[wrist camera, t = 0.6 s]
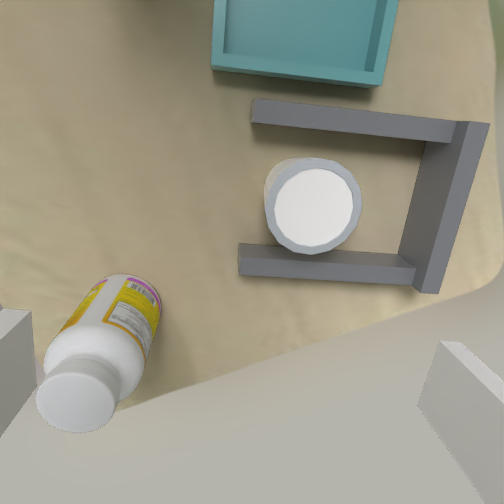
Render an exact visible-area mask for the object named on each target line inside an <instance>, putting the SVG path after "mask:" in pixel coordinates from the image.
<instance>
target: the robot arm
mask: <svg viewBox="0 0 504 504" xmlns="http://www.w3.org/2000/svg"><path fill="white" fill-rule="evenodd" d="M36 387H37V382H36V369H35V356H34V343H33V330H32V317H31V311H29V310H16V309H3V310H1V311H0V437H1V435H2V434H3V433H4V431H5V430H6V428H7V427H8V426H9V424H10V423H11V421H12V420H13V419H14V417H15V416H16V414H17V413H18V412H19V410H20V409H21V408H22V406H23V404H24V403H25V402H26V401H27V399H28V398H29V396H30V395H31V394H32V392H33V391H34V389H35V388H36ZM417 406H418V408H419V409H420V410H421V412H422V413H423V415H424V416H425V418H426V419H427V421H428V422H429V423H430V425H431V426H432V427H433V429H434V430H435V432H436V433H437V435H438V436H439V438H440V439H441V440H442V442H443V443H444V445H445V446H446V448H447V449H448V451H449V452H450V454H451V455H452V456H453V458H454V459H455V461H456V462H457V464H458V465H459V466H460V468H461V469H462V471H463V472H464V474H465V475H466V477H467V478H468V479H469V481H470V482H471V484H472V485H473V487H474V488H475V489H476V491H477V492H478V494H479V495H480V497H481V498H482V499H483V501H484V502H485V504H504V382H503V381H502V380H501V379H500V378H499V377H498V376H497V375H496V374H495V373H494V372H493V371H491V370H490V369H489V368H488V367H487V366H486V365H485V364H484V363H483V362H482V361H480V360H479V359H478V358H477V357H476V356H475V355H474V354H472V353H471V351H469V350H468V349H467V348H466V347H465V346H464V345H463V344H462V343H461V342H450V341H439V343H438V346H437V349H436V352H435V355H434V358H433V361H432V364H431V367H430V370H429V372H428V376H427V379H426V381H425V384H424V387H423V390H422V393H421V396H420V399H419V402H418V405H417Z"/></svg>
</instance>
